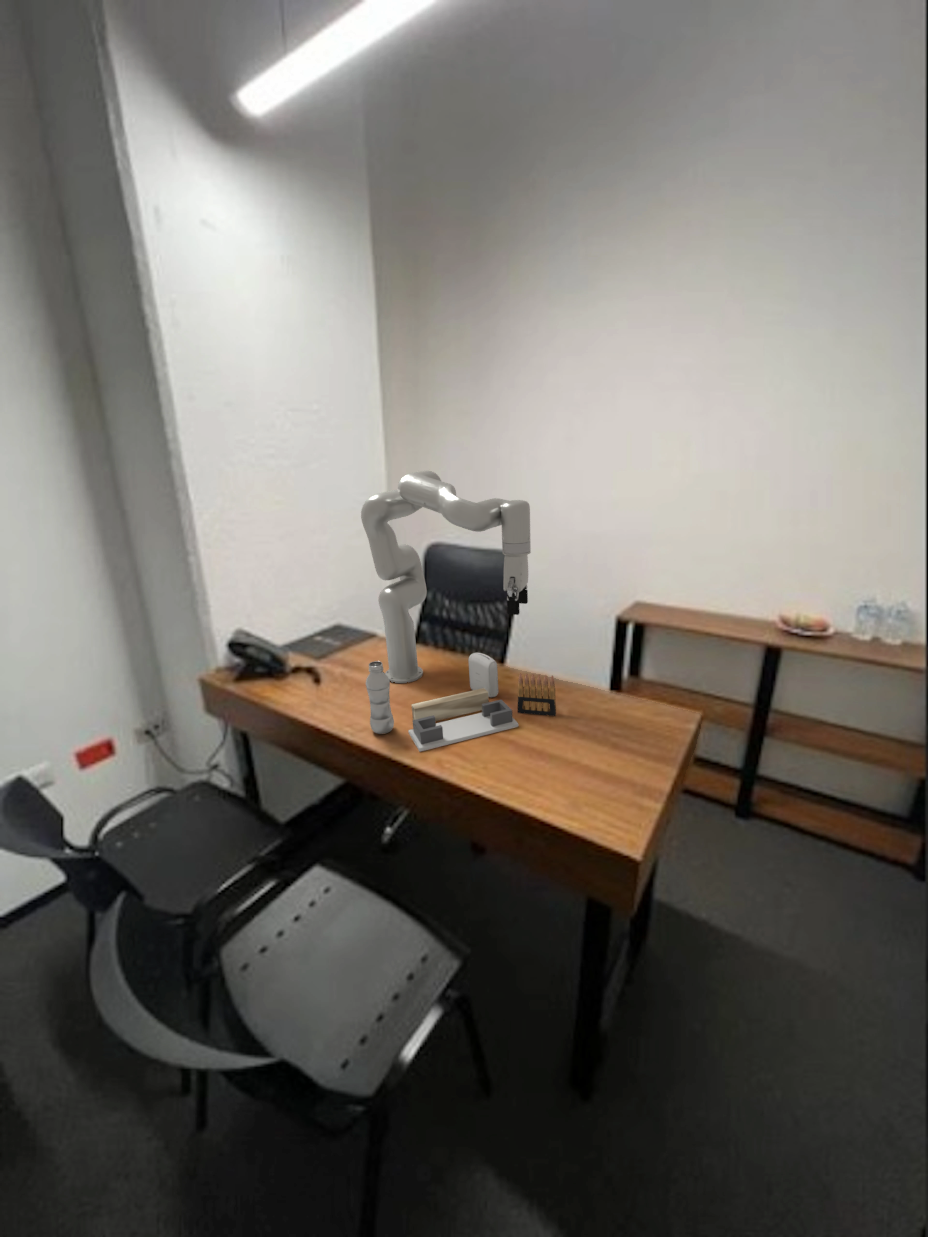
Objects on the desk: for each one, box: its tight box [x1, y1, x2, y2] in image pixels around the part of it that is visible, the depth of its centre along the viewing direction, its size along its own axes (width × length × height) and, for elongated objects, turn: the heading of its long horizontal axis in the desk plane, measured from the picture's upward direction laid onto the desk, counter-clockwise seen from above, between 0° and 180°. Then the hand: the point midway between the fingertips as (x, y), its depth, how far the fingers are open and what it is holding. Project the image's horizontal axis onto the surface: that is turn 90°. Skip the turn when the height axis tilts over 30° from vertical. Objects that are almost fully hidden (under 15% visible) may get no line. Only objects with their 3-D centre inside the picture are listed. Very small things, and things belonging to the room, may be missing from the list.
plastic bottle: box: [365, 660, 395, 735], centre depth 152 cm, size 6×7×20 cm
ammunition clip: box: [517, 672, 557, 717], centre depth 158 cm, size 11×2×12 cm, turn 74°
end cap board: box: [408, 699, 519, 752], centre depth 152 cm, size 10×28×4 cm, turn 111°
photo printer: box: [467, 652, 499, 698], centre depth 172 cm, size 10×4×12 cm, turn 39°
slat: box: [410, 688, 490, 722], centre depth 161 cm, size 3×22×6 cm, turn 111°
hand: (517, 608), depth 157 cm, fingers open, 9 cm apart
